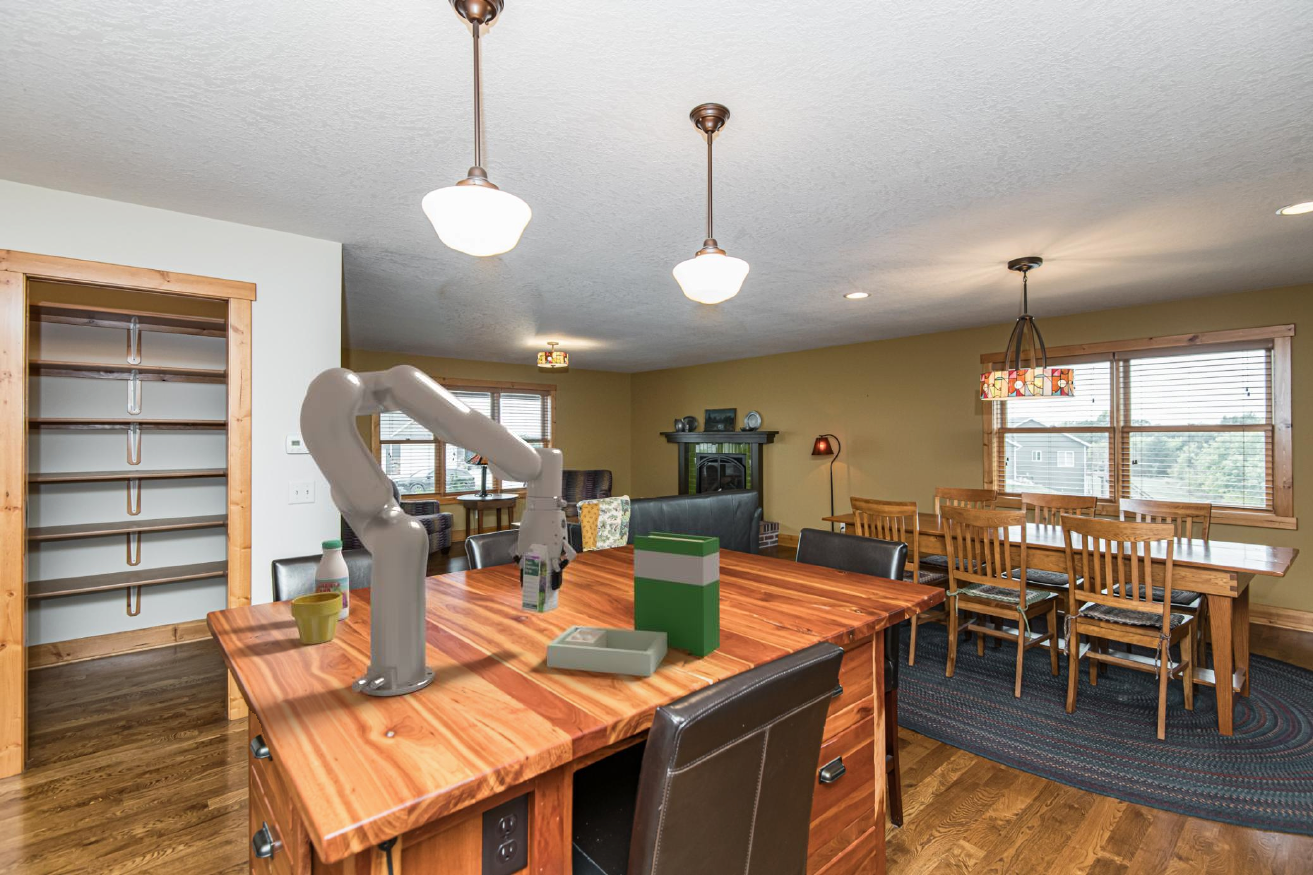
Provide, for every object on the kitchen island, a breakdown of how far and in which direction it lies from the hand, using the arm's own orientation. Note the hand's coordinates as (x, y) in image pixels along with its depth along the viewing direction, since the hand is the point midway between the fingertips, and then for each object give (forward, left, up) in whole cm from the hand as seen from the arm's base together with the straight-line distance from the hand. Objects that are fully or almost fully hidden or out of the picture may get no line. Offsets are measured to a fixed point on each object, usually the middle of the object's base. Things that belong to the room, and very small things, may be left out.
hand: (540, 587), depth 128 cm
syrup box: (0, 0, -5) cm, 5 cm away
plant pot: (-5, +53, -14) cm, 55 cm away
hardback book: (+11, -28, -14) cm, 33 cm away
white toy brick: (-3, -12, -13) cm, 18 cm away
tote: (-3, -17, -14) cm, 22 cm away
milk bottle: (+10, +63, -14) cm, 66 cm away
